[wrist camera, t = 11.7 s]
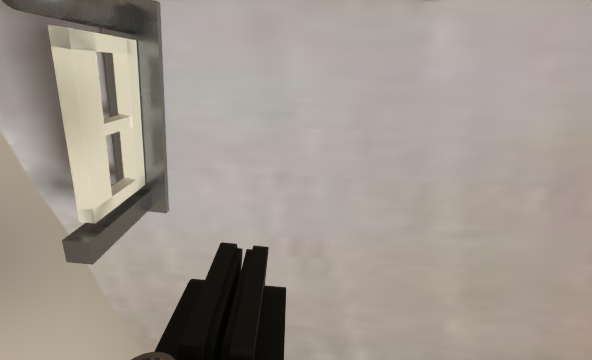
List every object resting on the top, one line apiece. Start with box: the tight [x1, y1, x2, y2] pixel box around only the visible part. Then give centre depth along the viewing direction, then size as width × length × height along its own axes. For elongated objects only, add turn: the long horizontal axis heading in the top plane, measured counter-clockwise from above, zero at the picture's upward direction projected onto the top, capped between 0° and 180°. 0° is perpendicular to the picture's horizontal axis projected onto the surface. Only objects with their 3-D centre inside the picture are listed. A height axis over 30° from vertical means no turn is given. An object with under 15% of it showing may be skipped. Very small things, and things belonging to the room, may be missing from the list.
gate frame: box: [2, 0, 169, 264], centre depth 28 cm, size 25×6×14 cm, turn 173°
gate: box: [48, 25, 145, 224], centre depth 29 cm, size 17×2×10 cm, turn 172°
